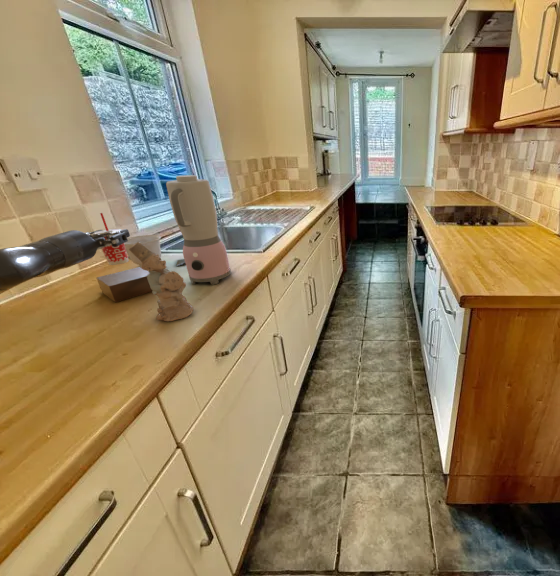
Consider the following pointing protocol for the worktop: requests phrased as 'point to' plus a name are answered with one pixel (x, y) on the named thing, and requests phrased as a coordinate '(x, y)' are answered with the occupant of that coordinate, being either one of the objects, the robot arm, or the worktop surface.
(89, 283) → the worktop surface
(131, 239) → the teacup
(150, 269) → the figurine
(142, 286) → the walnut block
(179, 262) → the build plate
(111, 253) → the beverage cup
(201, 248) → the blender
